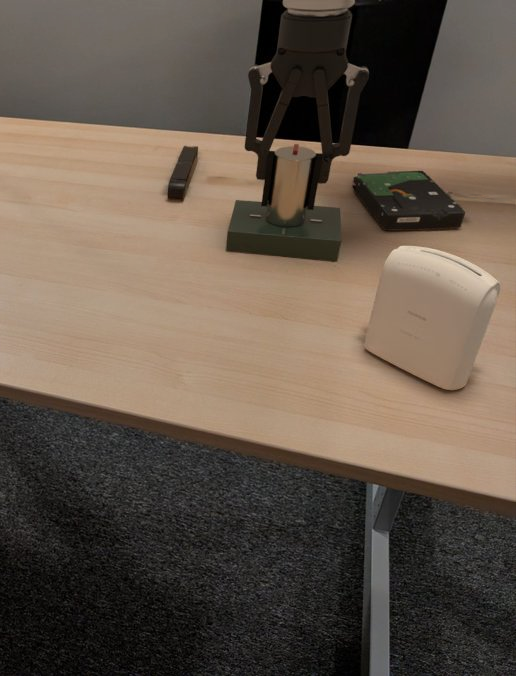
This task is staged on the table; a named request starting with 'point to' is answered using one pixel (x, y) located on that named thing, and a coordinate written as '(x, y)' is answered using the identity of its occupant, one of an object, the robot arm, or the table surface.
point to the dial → (290, 185)
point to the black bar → (182, 173)
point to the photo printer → (431, 314)
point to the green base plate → (285, 233)
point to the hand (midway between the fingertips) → (287, 203)
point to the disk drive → (407, 201)
